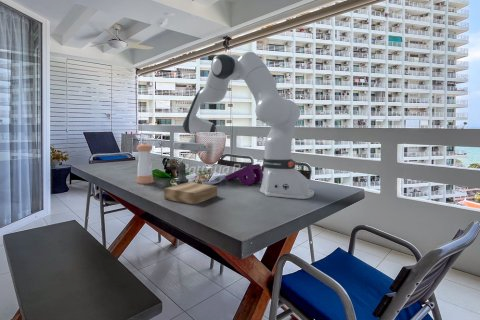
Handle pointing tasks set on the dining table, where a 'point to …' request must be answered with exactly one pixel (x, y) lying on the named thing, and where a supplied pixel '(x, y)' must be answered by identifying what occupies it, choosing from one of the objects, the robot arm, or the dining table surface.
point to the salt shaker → (144, 164)
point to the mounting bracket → (249, 172)
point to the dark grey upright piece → (182, 175)
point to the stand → (190, 192)
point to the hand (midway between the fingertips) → (189, 147)
